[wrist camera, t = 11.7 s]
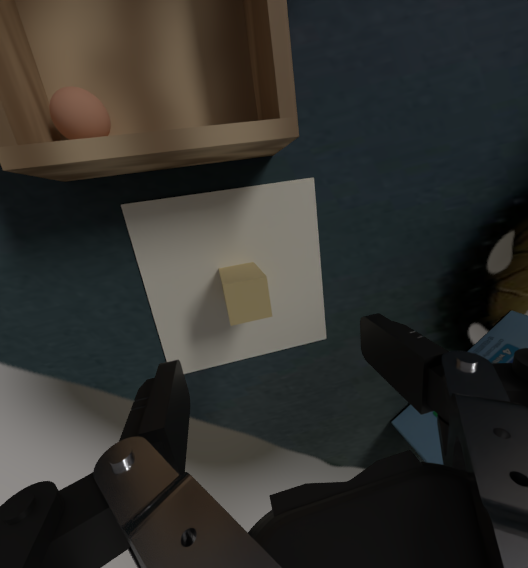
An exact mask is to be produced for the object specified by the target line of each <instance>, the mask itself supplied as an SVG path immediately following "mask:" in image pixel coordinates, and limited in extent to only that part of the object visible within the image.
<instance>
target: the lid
mask: <svg viewBox="0 0 528 568" xmlns="http://www.w3.org/2000/svg"><path fill="white" fill-rule="evenodd" d="M121 208H122V211H123V215H124V218H125V221H126V225H127V228H128V232H129V235H130V238H131V242H132V245H133V249H134V252H135V255H136V259H137V262H138V266H139V269H140V272H141V276H142V279H143V283H144V286H145V289H146V293H147V296H148V300H149V303H150V306H151V310H152V313H153V317H154V320H155V324H156V327H157V330H158V334H159V337H160V341H161V344H162V347H163V351H164V354H165V358H166V361H167V362H170V361H174V360H179V361H180V363H181V366H182V370H183V373H184V374H186V373H190V372H194V371H198V370H202V369H206V368H210V367H214V366H218V365H222V364H226V363H230V362H235V361H239V360H243V359H247V358H251V357H255V356H259V355H263V354H267V353H271V352H275V351H279V350H283V349H287V348H291V347H295V346H299V345H303V344H307V343H311V342H315V341H319V340H324V339H326V327H325V314H324V301H323V288H322V275H321V263H320V250H319V237H318V224H317V211H316V198H315V186H314V178H307V179H300V180H293V181H286V182H279V183H271V184H264V185H257V186H250V187H243V188H236V189H229V190H222V191H214V192H207V193H200V194H193V195H186V196H179V197H172V198H165V199H157V200H150V201H143V202H136V203H129V204H122V205H121Z"/></svg>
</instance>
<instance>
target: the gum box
mask: <svg viewBox="0 0 528 568" xmlns="http://www.w3.org/2000/svg"><path fill="white" fill-rule="evenodd" d="M522 348H528V316H527V315H524V314H521V313H517V312H514V311H510V312H509V313H508V314H507V315H506V316H505V317H504V318H503V319H502V320H501V321H500V322H498V323H497V324H496V325H495V326H494V327H493V328H492V329H491V330H490V331H489V332H488V333H487V334H486V335H484V336H483V337H482V338H481V339H480V340H479V341H478V342H477V343H476V344H475V345H474V346H473V347H471V348H470V349H469V350H468V351H467V352H471V353H474V354H477V355H480V356H482V357H484V358H486V359H487V360H489V361H490V362H491V363H513V358H514V353H515V351H517V350H518V349H522ZM391 423H392V425H393V426H394V427H395V428H396V429H397V430H398V432H399V433H400V434H401V435H402V436H403V437H404V438H405V439H406V441H407V442H408V443H409V444H410V445H411V446H412V447H413V448H414V449H415V451H416V452H417V453H418V454H419V455H420V456H421V457H422V459H423V460H424V461H425V462H427V463H436V464H441V465H443V459H442V453H441V446H440V439H439V432H438V425H437V413H436V412H435V411H432V412H429V413H426V414H422V415H421V414H420V413H419V412H418V411H417V410H416V409H415V408H414V407H413V406H412V405H411V404H410V405H409V406H408V407H407V408H406V409H405V410H404V411H403V412H402V413H400V414H399V415H398V416H397V417H396V418H395V419H394V420H393V421H392V422H391Z"/></svg>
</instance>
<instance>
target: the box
mask: <svg viewBox="0 0 528 568" xmlns="http://www.w3.org/2000/svg"><path fill="white" fill-rule="evenodd" d="M68 86H73V87H79V88H82V89H85V90H87V91H89V92H90V93H92V94H93V95H95V96H96V97H97V98H98V99H99V100H100V101H101V102H102V104H103V105H104V106H105V108H106V110H107V112H108V114H109V117H110V122H111V129H110V133H109V135H108V136H103V137H93V138H83V139H73V140H69V139H67V138H66V137H65V136H63V135H62V134H61V133H60V132H59V130H58V129H57V128H56V126H55V125H54V123H53V121H52V119H51V116H50V111H49V104H50V100H51V97H52V96H53V94H54V93H55V92H56V91H57V90H59V89H61V88H63V87H68ZM298 137H299V131H298V120H297V109H296V98H295V87H294V77H293V66H292V55H291V44H290V33H289V23H288V12H287V1H286V0H0V164H1V167H2V169H3V171H8V172H14V173H19V174H25V175H30V176H36V177H41V178H47V179H52V180H58V181H63V182H66V181H74V180H82V179H90V178H98V177H106V176H114V175H122V174H130V173H138V172H146V171H154V170H162V169H170V168H178V167H186V166H194V165H201V164H209V163H217V162H225V161H233V160H241V159H249V158H257V157H265V156H273V155H275V154H276V153H277V152H279V151H280V150H281V149H283V148H284V147H285V146H287V145H288V144H290V143H291V142H292V141H294V140H295V139H296V138H298Z"/></svg>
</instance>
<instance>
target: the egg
mask: <svg viewBox="0 0 528 568" xmlns="http://www.w3.org/2000/svg"><path fill="white" fill-rule="evenodd" d="M49 111H50V116H51V119H52V121H53V123H54V125H55V126H56V128H57V129H58V130H59V132H60V133H61V134H62V135H63V136H65V137H66V138H67V139H69V140H73V139H83V138H93V137H103V136H108V135H109V133H110V129H111V122H110V117H109V114H108V112H107V110H106V108H105V106H104V105H103V104H102V102H101V101H100V100H99V99H98V98H97V97H96V96H95V95H93V94H92V93H90V92H89V91H87V90H85V89H82V88H79V87H73V86H68V87H63V88H61V89H59V90H57V91H56V92H55V93H54V94H53V96H52V97H51V100H50V104H49Z"/></svg>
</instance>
